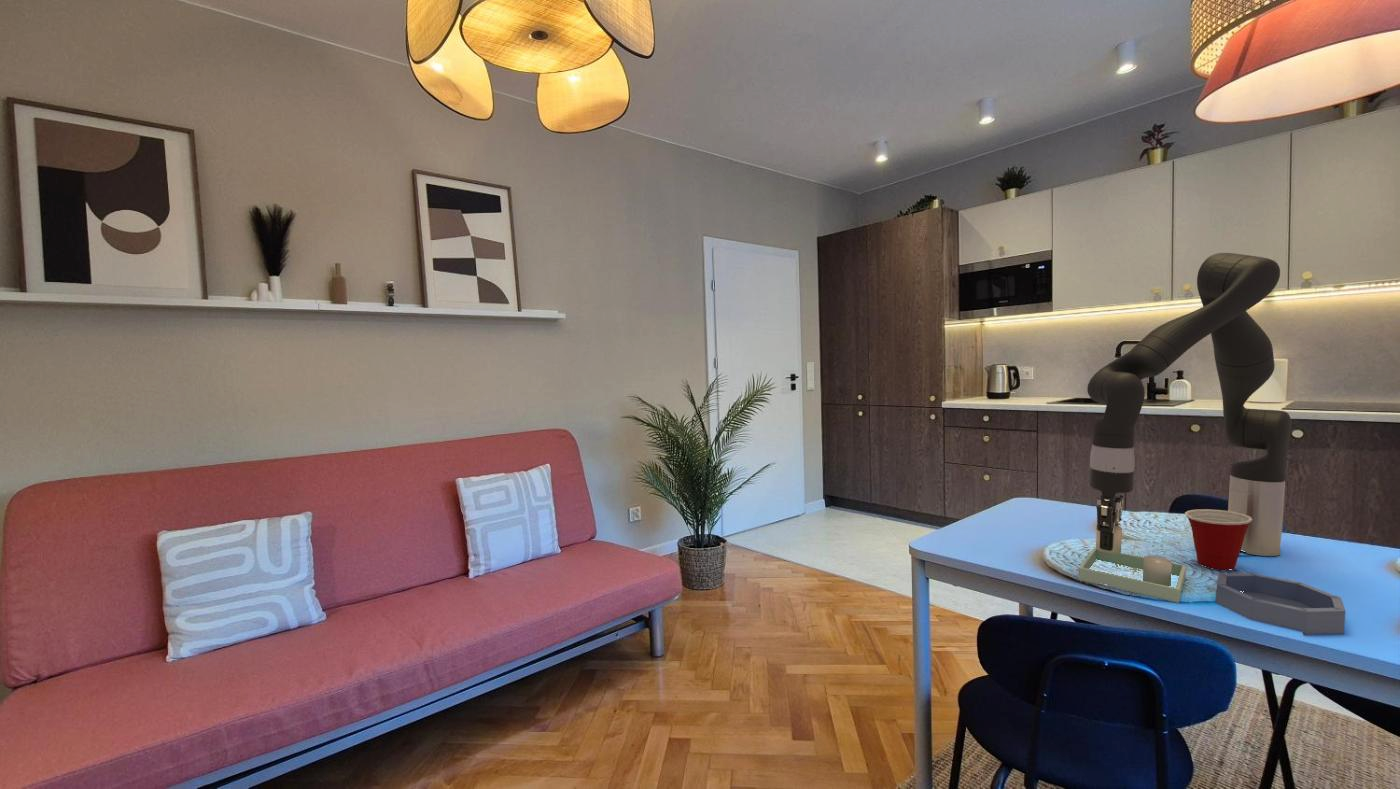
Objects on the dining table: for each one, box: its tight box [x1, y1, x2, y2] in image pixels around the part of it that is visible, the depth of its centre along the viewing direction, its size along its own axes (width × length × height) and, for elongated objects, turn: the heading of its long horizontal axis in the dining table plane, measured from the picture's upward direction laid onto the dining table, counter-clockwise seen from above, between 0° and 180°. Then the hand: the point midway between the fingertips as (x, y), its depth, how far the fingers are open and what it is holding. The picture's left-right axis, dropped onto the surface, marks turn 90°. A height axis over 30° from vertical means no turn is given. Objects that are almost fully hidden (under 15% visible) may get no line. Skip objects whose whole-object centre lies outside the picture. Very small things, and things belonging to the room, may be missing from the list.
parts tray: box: [1077, 547, 1187, 604], centre depth 118 cm, size 16×16×3 cm
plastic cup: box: [1184, 508, 1252, 571], centre depth 124 cm, size 11×11×12 cm
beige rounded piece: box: [1143, 555, 1173, 586], centre depth 115 cm, size 4×4×5 cm
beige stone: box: [1095, 523, 1123, 554], centre depth 121 cm, size 4×4×5 cm
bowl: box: [1215, 572, 1347, 636], centre depth 104 cm, size 16×16×4 cm
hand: (1108, 545), depth 121 cm, fingers closed on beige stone, 4 cm apart
